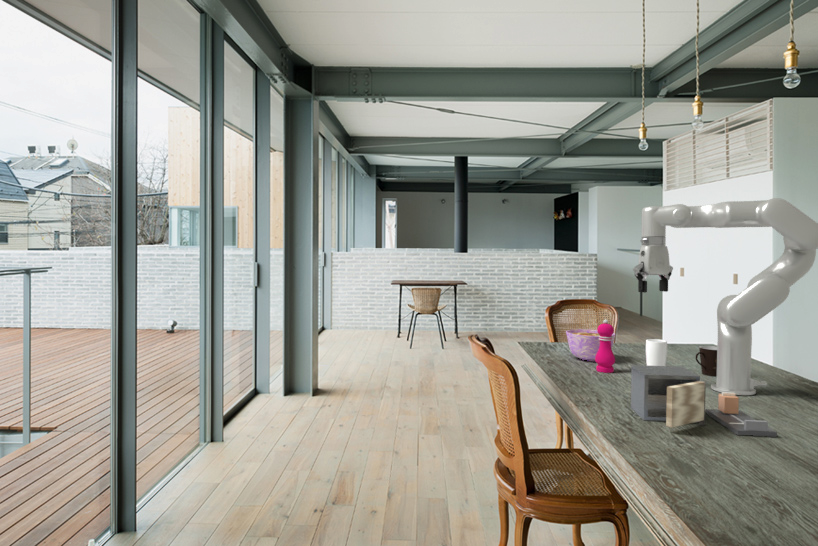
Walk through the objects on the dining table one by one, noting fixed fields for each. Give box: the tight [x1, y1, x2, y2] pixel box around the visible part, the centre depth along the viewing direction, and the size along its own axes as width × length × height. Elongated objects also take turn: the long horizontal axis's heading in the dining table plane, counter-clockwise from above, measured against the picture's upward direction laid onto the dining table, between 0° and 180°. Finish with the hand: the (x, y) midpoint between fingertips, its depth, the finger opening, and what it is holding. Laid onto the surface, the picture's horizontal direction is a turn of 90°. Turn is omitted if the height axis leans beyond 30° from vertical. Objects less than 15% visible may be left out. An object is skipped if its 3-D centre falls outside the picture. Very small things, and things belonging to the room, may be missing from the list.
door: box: [665, 380, 707, 429], centre depth 134 cm, size 14×2×12 cm, turn 118°
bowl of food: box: [565, 328, 616, 362], centre depth 221 cm, size 20×20×12 cm
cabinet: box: [630, 364, 701, 424], centre depth 145 cm, size 14×12×12 cm
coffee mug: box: [695, 345, 717, 377], centre depth 194 cm, size 12×9×10 cm
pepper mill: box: [594, 318, 616, 374], centre depth 199 cm, size 7×7×20 cm
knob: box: [717, 392, 740, 414], centre depth 143 cm, size 4×4×5 cm
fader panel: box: [705, 408, 778, 438], centre depth 137 cm, size 9×18×4 cm, turn 173°
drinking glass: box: [645, 338, 668, 366], centre depth 181 cm, size 7×7×15 cm
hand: (653, 291), depth 179 cm, fingers open, 9 cm apart
